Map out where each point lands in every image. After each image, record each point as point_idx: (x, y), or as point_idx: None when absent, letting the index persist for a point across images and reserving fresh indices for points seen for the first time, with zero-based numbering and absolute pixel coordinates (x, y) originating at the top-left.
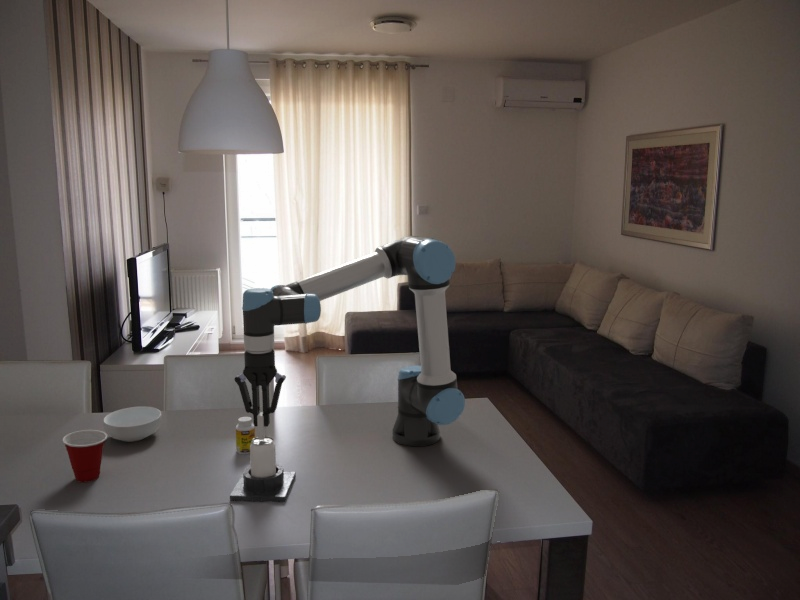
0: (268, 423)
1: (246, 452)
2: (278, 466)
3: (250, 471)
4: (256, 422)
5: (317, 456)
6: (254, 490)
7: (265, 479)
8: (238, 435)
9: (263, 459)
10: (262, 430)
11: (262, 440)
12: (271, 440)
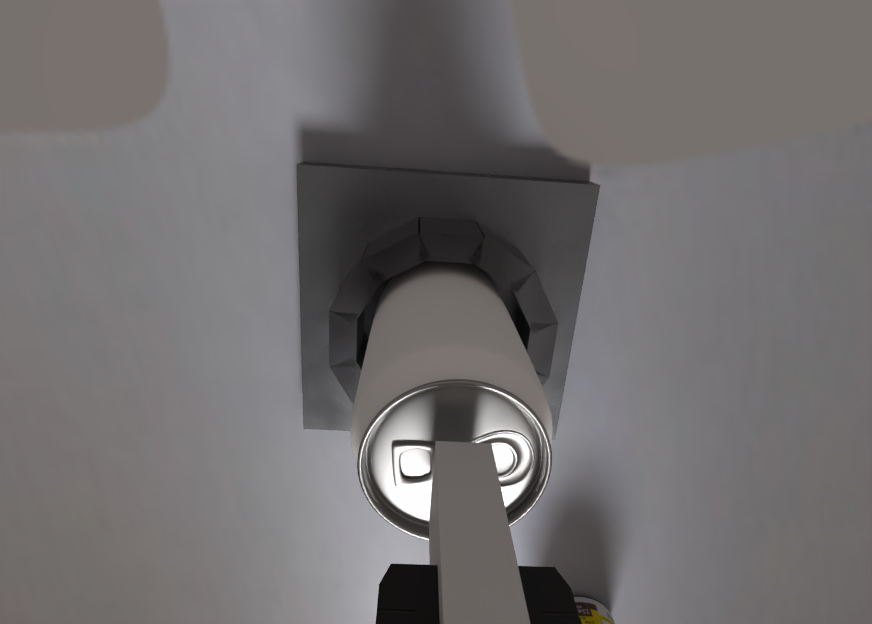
0: (378, 603)
1: None
2: None
3: None
4: (540, 612)
5: (253, 584)
6: (473, 221)
7: (410, 236)
8: None
9: (428, 316)
10: (449, 510)
11: None
12: (379, 480)
